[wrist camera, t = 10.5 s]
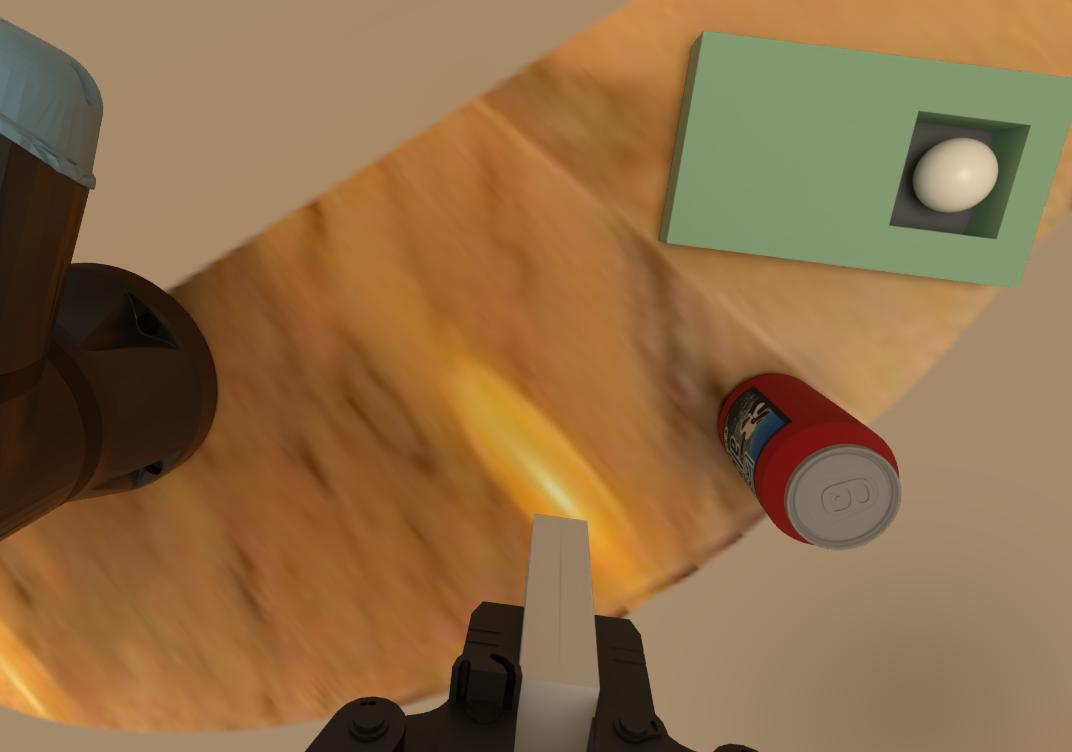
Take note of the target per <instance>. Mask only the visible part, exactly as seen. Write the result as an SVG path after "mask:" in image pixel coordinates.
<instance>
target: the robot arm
mask: <svg viewBox="0 0 1072 752" xmlns="http://www.w3.org/2000/svg"><path fill="white" fill-rule="evenodd" d="M102 115H103V103H102V98H101V95H100V91H99V89H98V87H97V85H96V83H95V81H94V80H93V78H92V77H91V76H90V74H89V73H88V71H87V70H86V69H85V68H84V67H83V66H82V65H81V64H80V63H79V62H77V61H76V60H75V59H74V58H72V57H71V56H69V55H68V54H66V53H65V52H63V51H61V50H59V49H58V48H56V47H54V46H52V45H51V44H49V43H47V42H45V41H43V40H42V39H40V38H38V37H36V36H34V35H32V34H30V33H29V32H27V31H25V30H23V29H21V28H19V27H17V26H15V25H14V24H11V23H10V22H8V21H6V20H4V19H2V18H0V541H2V540H4V539H5V538H7V537H9V536H10V535H12V534H14V533H15V532H17V531H19V530H20V529H22V528H24V527H25V526H27V525H29V524H31V523H32V522H34V521H36V520H37V519H39V518H41V517H42V516H44V515H46V514H47V513H49V512H51V511H52V510H54V509H55V508H57V507H59V506H61V505H62V504H64V503H66V502H70V501H76V500H82V499H87V498H93V497H99V496H104V495H110V494H115V493H121V492H126V491H130V490H134V489H137V488H140V487H143V486H145V485H148V484H150V483H152V482H154V481H156V480H158V479H159V478H161V477H163V476H164V475H166V474H167V473H169V472H170V471H172V470H173V469H175V468H176V467H178V466H179V465H181V464H182V463H183V462H185V461H186V460H187V459H188V458H189V457H190V456H191V455H192V454H193V453H194V452H195V451H196V450H197V449H198V447H199V446H200V444H201V443H202V442H203V440H204V438H205V437H206V435H207V432H208V430H209V428H210V426H211V423H212V420H213V416H214V412H215V406H216V394H217V389H216V377H215V371H214V366H213V362H212V359H211V356H210V353H209V350H208V348H207V345H206V343H205V341H204V339H203V337H202V335H201V333H200V332H199V330H198V328H197V327H196V325H195V324H194V322H193V321H192V319H191V318H190V317H189V315H188V314H187V313H186V312H185V311H184V309H183V308H182V307H181V306H180V305H179V304H178V303H177V302H176V301H175V300H174V299H173V298H172V297H170V296H169V295H168V294H167V293H166V292H164V291H163V290H162V289H160V288H159V287H158V286H156V285H155V284H153V283H151V282H150V281H148V280H146V279H144V278H143V277H141V276H139V275H137V274H135V273H132V272H129V271H127V270H124V269H121V268H118V267H114V266H110V265H104V264H97V263H73V264H71V261H72V257H73V253H74V249H75V245H76V241H77V237H78V233H79V229H80V225H81V221H82V217H83V213H84V209H85V206H86V202H87V198H88V194H89V189H93V190H94V189H95V185H96V178H95V176H94V175H93V173H92V170H93V164H94V159H95V153H96V148H97V142H98V137H99V131H100V126H101V120H102ZM643 651H644V650H643V645H642V639H641V634H640V633H639V632H638V631H637V629H636V628H635V626H634V625H633V624H632V622H631V621H630V620H629V619H621V618H614V617H606V616H599V615H594V605H593V592H592V579H591V565H590V552H589V539H588V526H587V521H583V520H576V519H568V518H561V517H553V516H546V515H539V514H534V520H533V528H532V535H531V542H530V550H529V557H528V564H527V571H526V579H525V586H524V593H523V601H522V607H521V606H514V605H507V604H499V603H492V602H484V601H483V602H482V603H481V604H480V605H479V606H478V607H477V608H476V609H475V610H474V612H473V613H472V615H471V619H470V623H469V628H468V632H467V637H466V641H465V645H464V650H463V654H462V655H461V656H459V657H458V658H457V659H456V661H455V663H454V665H453V666H452V675H451V684H450V693H449V699H448V700H447V702H445V703H444V704H443V705H441V706H440V707H439V708H436V709H434V710H432V711H429V712H425V713H421V714H415V715H407V716H405V714H404V712H403V711H402V710H401V708H400V707H399V706H398V705H397V704H396V703H394V702H392V701H390V700H388V699H385V698H379V697H366V698H359V699H357V700H354V701H352V702H349V703H347V704H346V705H344V706H343V707H342V708H341V709H340V710H339V711H338V712H336V714H335V715H334V716H333V717H332V719H331V720H330V721H329V722H328V724H327V725H326V726H325V727H324V729H323V730H322V731H321V732H320V734H319V735H318V736H317V737H316V739H315V740H314V741H313V742H312V744H311V745H310V746H309V747H308V749H307V750H306V751H305V752H696V751H693V750H691V749H689V748H687V747H685V746H683V745H681V744H679V743H678V742H676V741H675V740H673V739H672V738H671V737H670V736H669V735H668V733H667V730H666V728H665V726H664V724H663V722H662V721H661V720H660V719H659V718H658V717H657V715H656V714H655V711H654V705H653V700H652V694H651V689H650V683H649V678H648V672H647V667H646V661H645V656H644V653H643ZM714 752H758V751H756V750H754V749H751V748H749V747H746V746H744V745H737V744H727V745H723V746H719V747H718V748H717V749H716V750H715V751H714Z"/></svg>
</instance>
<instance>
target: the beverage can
mask: <svg viewBox="0 0 1072 752" xmlns="http://www.w3.org/2000/svg"><path fill="white" fill-rule="evenodd" d="M719 436H720V440H721V443H722V445H723V447H724V449H725V451H726V452H727V454H728V456H729V457H730V459H731V460H732V462H733V464H734V465H735V467H736V468H737V470H738V471H739V473H740V474H741V476H742V477H743V479H744V480H745V482H746V483H747V485H748V486H749V488H750V490H751V491H752V493H753V494H754V495H755V497H756V498H757V500H758V501H759V503H760V504H761V506H762V507H763V508H764V510H765V511H766V513H767V514H768V516H769V517H770V518H771V520H772V521H773V523H774V524H775V525H776V526H777V527H778V528H779V529H780V530H781V531H782V532H784V533H785V534H787V535H788V536H790V537H792V538H793V539H796V540H798V541H801V542H803V543H807V544H811V545H816V546H819V547H822V548H826V549H832V550H846V549H852V548H856V547H859V546H862V545H865V544H867V543H869V542H871V541H872V540H874V539H876V538H877V537H878V536H880V535H881V534H882V533H883V532H884V531H885V530H886V529H887V528H888V527H889V526H890V524H891V523H892V522H893V520H894V518H895V517H896V515H897V512H898V510H899V506H900V502H901V485H900V481H899V472H898V466H897V463H896V460H895V457H894V455H893V453H892V451H891V449H890V448H889V446H888V445H887V444H886V443H885V441H884V440H883V439H882V438H880V437H879V436H878V435H877V434H876V433H874V432H873V431H872V430H870V429H869V428H868V427H866V426H865V425H864V424H862V423H861V422H860V421H858V420H857V419H855V418H854V417H853V416H851V415H850V414H849V413H847V412H846V411H844V410H843V409H842V408H840V407H839V406H837V405H836V404H835V403H833V402H832V401H830V400H829V399H828V398H826V397H825V396H823V395H822V394H820V393H819V392H817V391H816V390H814V389H813V388H812V387H810V386H809V385H807V384H806V383H804V382H803V381H801V380H799V379H797V378H794V377H791V376H787V375H781V374H770V375H763V376H759V377H756V378H753V379H751V380H749V381H747V382H745V383H744V384H742V385H741V386H740V387H738V388H737V389H736V390H735V391H734V392H733V393H732V394H731V395H730V397H729V398H728V399H727V401H726V402H725V404H724V406H723V409H722V411H721V414H720V419H719Z"/></svg>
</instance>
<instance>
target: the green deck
mask: <svg viewBox="0 0 1072 752" xmlns="http://www.w3.org/2000/svg"><path fill="white" fill-rule="evenodd" d="M1071 121H1072V78H1070V77H1062V76H1055V75H1047V74H1039V73H1031V72H1023V71H1015V70H1008V69H1000V68H992V67H984V66H976V65H968V64H961V63H953V62H945V61H937V60H929V59H921V58H914V57H906V56H898V55H890V54H882V53H874V52H867V51H859V50H851V49H843V48H835V47H827V46H820V45H812V44H804V43H796V42H788V41H780V40H773V39H765V38H757V37H749V36H741V35H733V34H725V33H718V32H710V31H703V32H702V33H701V35H700V36H699V37H698V39H697V40H696V41H695V42H694V44H693V45H692V48H691V54H690V60H689V66H688V71H687V77H686V83H685V89H684V95H683V101H682V107H681V112H680V118H679V124H678V130H677V136H676V142H675V148H674V153H673V159H672V165H671V171H670V177H669V183H668V188H667V194H666V200H665V206H664V212H663V218H662V224H661V229H660V235H659V241H662V242H665V243H671V244H679V245H686V246H694V247H702V248H709V249H717V250H725V251H732V252H740V253H748V254H755V255H763V256H771V257H778V258H786V259H794V260H801V261H809V262H817V263H824V264H832V265H840V266H847V267H855V268H863V269H870V270H878V271H886V272H893V273H901V274H909V275H916V276H924V277H931V278H939V279H947V280H954V281H962V282H970V283H977V284H985V285H993V286H1000V287H1008V288H1016V289H1018V288H1019V285H1020V282H1021V279H1022V276H1023V273H1024V269H1025V266H1026V263H1027V260H1028V257H1029V254H1030V250H1031V247H1032V244H1033V241H1034V238H1035V235H1036V231H1037V228H1038V225H1039V222H1040V219H1041V216H1042V212H1043V209H1044V206H1045V203H1046V200H1047V197H1048V193H1049V190H1050V187H1051V184H1052V181H1053V178H1054V174H1055V171H1056V168H1057V165H1058V162H1059V159H1060V155H1061V152H1062V149H1063V146H1064V143H1065V140H1066V136H1067V133H1068V130H1069V127H1070V124H1071ZM954 138H971V139H975V140H978V141H980V142H982V143H984V144H985V145H987V146H988V147H989V148H990V149H991V150H992V151H993V153H994V155H995V157H996V159H997V163H998V176H997V180H996V182H995V185H994V187H993V189H992V190H991V191H990V193H989V194H988V195H987V196H986V197H985V198H984V199H983V200H982V201H981V202H979V203H978V204H976V205H975V206H973V207H971V208H969V209H966V210H963V211H959V212H953V213H945V212H938V211H935V210H932V209H930V208H928V207H927V206H925V205H924V204H923V203H922V202H921V201H920V200H919V199H918V197H917V196H916V194H915V191H914V188H913V175H914V171H915V168H916V166H917V164H918V162H919V160H920V159H921V158H922V156H923V155H924V154H925V153H926V152H927V151H928V150H930V149H931V148H932V147H934V146H935V145H937V144H939V143H941V142H943V141H946V140H949V139H954Z"/></svg>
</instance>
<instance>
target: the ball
mask: <svg viewBox="0 0 1072 752" xmlns="http://www.w3.org/2000/svg"><path fill="white" fill-rule="evenodd" d="M997 176H998V163H997V159H996V157H995V155H994V153H993V151H992V150H991V149H990V148H989V147H988V146H987V145H985V144H984V143H982V142H980V141H978V140H975V139H971V138H954V139H949V140H946V141H943V142H941V143H939V144H937V145H935V146H934V147H932V148H931V149H930V150H928V151H927V152H926V153H925V154H924V155H923V156H922V158H921V159H920V160H919V162H918V164H917V166H916V168H915V171H914V175H913V188H914V191H915V194H916V196H917V197H918V199H919V200H920V201H921V202H922V203H923V204H924V205H925V206H927V207H928V208H930V209H932V210H935V211H938V212H945V213H953V212H959V211H963V210H966V209H969V208H971V207H973V206H975V205H976V204H978V203H979V202H981V201H982V200H983V199H984V198H985V197H986V196H987V195H988V194H989V193H990V191H991V190H992V189H993V187H994V185H995V182H996V180H997Z"/></svg>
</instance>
